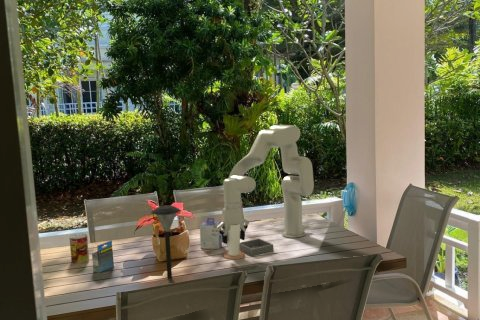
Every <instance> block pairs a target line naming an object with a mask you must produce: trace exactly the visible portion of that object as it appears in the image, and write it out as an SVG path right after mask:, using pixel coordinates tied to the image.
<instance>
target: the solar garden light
mask: <svg viewBox="0 0 480 320" xmlns="http://www.w3.org/2000/svg"><path fill="white" fill-rule="evenodd" d="M180 212H181V209H180V208H178V207H176V206H174V205H169V204H167V205H159V206H157V207H156V208H154V209H153V210H152V211H150V214H152V215H156V217H157V219H158V221H159V223H160V225H161V226H162V229H163V230H164V242H165V245H164V246H165V258H166V262H165V263H166V274H167V275H166V277H167V279H171V278H173V275H172V274H173V273H172V257H171V253H172V252H171V240H170V239H171V237H170V235H171V234H170V231H171V228H172V224H173V222H174V220H175V217H176V215H177V214H178V213H180Z"/></svg>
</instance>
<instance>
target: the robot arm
mask: <svg viewBox="0 0 480 320" xmlns="http://www.w3.org/2000/svg"><path fill="white" fill-rule="evenodd" d="M300 137H301V130H300V128H299V127H298V126H296V125H292V124H274V125H272V126H270V127H269V129H261V130H260V131H259V132H258V134H257V136H256V138H255V139H254V142H253V143H252V146H251V148H250V150H249V152H248V153H247V155H245V156H243V158H242V159H240V160H239V161H238V162H237V163H236V164H234V166H233V168H232V169H231V171H230V173H229V175H228V178H225V179H224V180H223V182H222V183H223V185H222V186H223V206H224V207H223V208H222V212H221V222H220V224H219V225H218V226H217V227H216V228H217V230H218V232H219V233H220V234H221V235H222V244H224V245H227V235H226V234H227V232H228V231H229V230H230V226H231V225H237V224H240V240H242V241H245V240H246V238H245V237H246V231H247V228H249V224H250V221H249V220H247V219H245V218H244V211H243V208H242V205H243V201H242V200H241V194H242V193H243V194H246V193H251V192H253V191H254V190H255V189H256V185H257V182H256V181H255V178H253V177H252V176H247V175H245V174H246V172H248V171H249V170H251V169H252V168H255V167H259V166H260V165H262V164H263V163H265V160H266V159H267V157H268V154H269V152H270V150H271V149H272V148H280V153H281V154H280V155H281V163H282V164H281V165H282V170H283V172H284V173H286V174H289V175H286V176H284V178H283V179H281V185H280V186H281V191H282V195H283V224H284V229H283V230H282V231H281V236H283V237H285V238H289V239H295V238H296V239H297V238H302V237H304V236H306V231H305V230H308V229H310V225H309V224H308V225H307V224H306V225H304V224H303V202H302V198H301V196H302V197H309V196H311V195H312V193H313V192H314V186H315V183H314V170H313V163H312V161H311V159H310V158H308V157H306V156H302V155H299V153H298V151H299V150H298V145H297V143H296V142H298V141H299V139H300Z"/></svg>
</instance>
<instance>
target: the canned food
mask: <svg viewBox="0 0 480 320" xmlns="http://www.w3.org/2000/svg"><path fill="white" fill-rule="evenodd" d="M69 247H70V258H71V259H70V261H71V263H72V264H76V265H78V264H86V263H88V262H89V261H90V253H89V251H90V250H89V239H88V234H87V233H76V234H72V235H70V236H69Z"/></svg>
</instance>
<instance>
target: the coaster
mask: <svg viewBox="0 0 480 320" xmlns="http://www.w3.org/2000/svg"><path fill="white" fill-rule="evenodd" d="M245 257H246V254H245V253H243V252H241V251H239V255H237V256H230V255H228V251H227V252H225V253H223V258H224V259H227V260H241V259H242V258H243V259H244V258H245Z"/></svg>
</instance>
